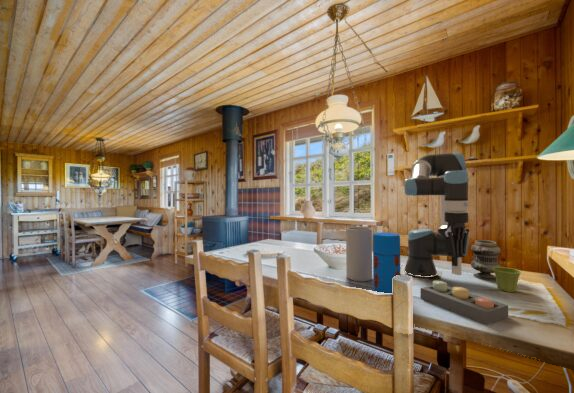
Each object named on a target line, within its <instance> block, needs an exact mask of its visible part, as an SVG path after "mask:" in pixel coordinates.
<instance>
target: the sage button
mask: <svg viewBox="0 0 574 393" xmlns="http://www.w3.org/2000/svg"><path fill="white" fill-rule="evenodd" d="M432 285H433V290H436V291H439V292H442V293H443V292H447V286H448V283H447V282H446V281H443V280H433V281H432Z"/></svg>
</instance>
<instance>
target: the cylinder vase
mask: <svg viewBox="0 0 574 393" xmlns="http://www.w3.org/2000/svg"><path fill="white" fill-rule="evenodd" d="M372 230H373V228H371V227H366V226H350V227H349V226H348V227H346V228H345V239H346V241H345V243H346V245H345V248H346V249H345V251H346V252H345V254H346V256H345V257H346V263H345V264H346V267H345V268H346V270H345V271H346V277H347V279H349V280H351V281H356V282H368V281H371V280H372V279H373V231H372Z"/></svg>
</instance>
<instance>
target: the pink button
mask: <svg viewBox="0 0 574 393" xmlns="http://www.w3.org/2000/svg"><path fill="white" fill-rule="evenodd" d="M493 301H494V300H493ZM493 301H492V299H491V298H487V299H486V297H484V298H476V299H475V304H476V305H479V306H482V307H484V308H487V309H491V308H494V302H493Z"/></svg>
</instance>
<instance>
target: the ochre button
mask: <svg viewBox="0 0 574 393" xmlns="http://www.w3.org/2000/svg"><path fill="white" fill-rule="evenodd" d="M469 291H470V290H469V289H468V288H466V287H462V286H453V288H452V296H453V297H456V298H459V299H462V300H467V299H469V293H470V292H469Z"/></svg>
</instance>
